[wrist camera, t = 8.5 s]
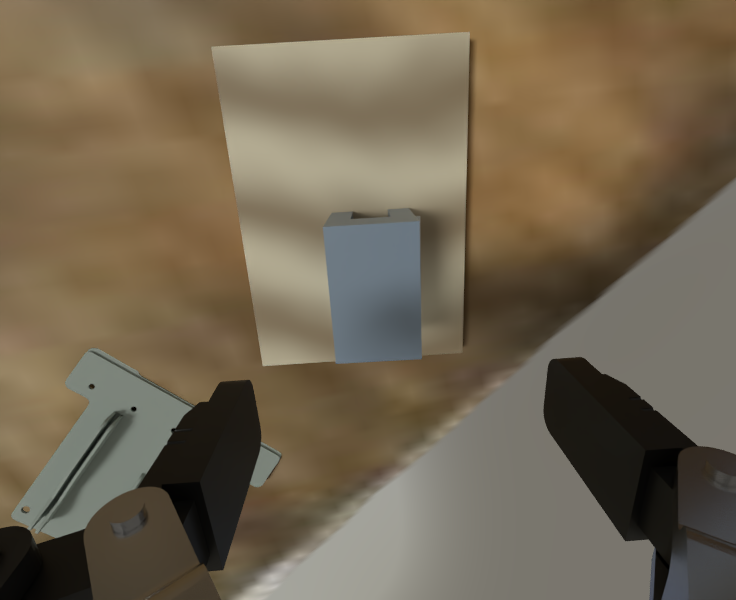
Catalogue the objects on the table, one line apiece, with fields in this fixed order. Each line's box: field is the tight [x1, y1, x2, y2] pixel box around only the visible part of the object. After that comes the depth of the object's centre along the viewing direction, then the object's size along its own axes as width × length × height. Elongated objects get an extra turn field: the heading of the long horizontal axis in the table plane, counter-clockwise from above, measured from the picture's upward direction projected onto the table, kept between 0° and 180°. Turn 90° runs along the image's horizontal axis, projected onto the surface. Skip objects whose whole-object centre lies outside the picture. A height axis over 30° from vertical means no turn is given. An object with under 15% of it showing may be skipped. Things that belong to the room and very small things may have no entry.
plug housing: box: [323, 208, 422, 364], centre depth 22 cm, size 7×4×5 cm, turn 3°
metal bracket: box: [11, 348, 281, 538], centre depth 29 cm, size 14×6×15 cm
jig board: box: [211, 32, 470, 366], centre depth 23 cm, size 18×13×4 cm
